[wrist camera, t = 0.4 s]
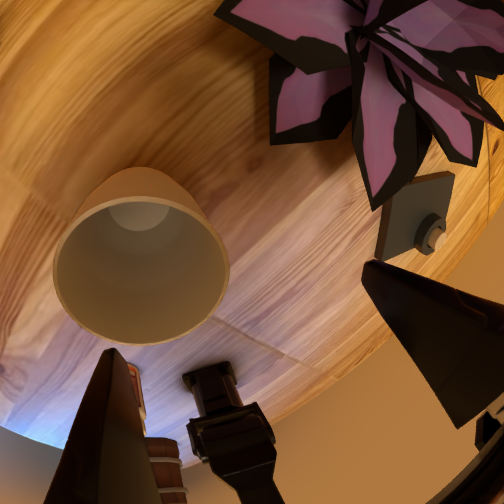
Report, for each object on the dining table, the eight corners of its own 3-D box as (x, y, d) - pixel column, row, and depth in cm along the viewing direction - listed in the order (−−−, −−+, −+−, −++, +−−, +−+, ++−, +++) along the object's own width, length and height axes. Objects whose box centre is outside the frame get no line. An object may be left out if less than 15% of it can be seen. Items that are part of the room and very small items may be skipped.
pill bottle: (94, 367, 26) (97, 431, 19) (126, 356, 27) (134, 423, 20) (115, 385, 29) (123, 443, 22) (146, 375, 30) (157, 436, 23)
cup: (67, 201, 17) (23, 286, 9) (146, 123, 16) (145, 151, 8) (138, 265, 22) (146, 364, 14) (212, 203, 21) (261, 281, 13)
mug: (187, 439, 45) (209, 502, 33) (160, 455, 47) (176, 510, 36) (117, 430, 36) (133, 506, 24) (97, 447, 38) (109, 510, 26)
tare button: (435, 241, 33) (443, 247, 31) (425, 247, 32) (432, 253, 31) (440, 225, 31) (448, 230, 30) (429, 229, 30) (438, 235, 29)
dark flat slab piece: (433, 234, 36) (447, 244, 34) (373, 262, 33) (387, 275, 31) (448, 170, 30) (464, 179, 28) (385, 183, 27) (405, 194, 24)
